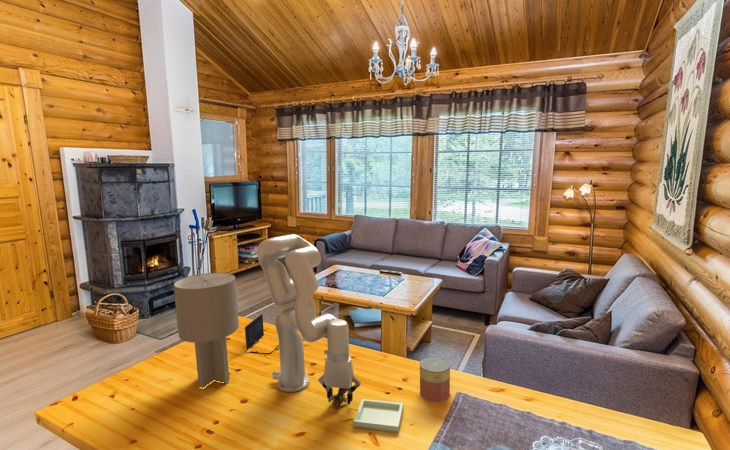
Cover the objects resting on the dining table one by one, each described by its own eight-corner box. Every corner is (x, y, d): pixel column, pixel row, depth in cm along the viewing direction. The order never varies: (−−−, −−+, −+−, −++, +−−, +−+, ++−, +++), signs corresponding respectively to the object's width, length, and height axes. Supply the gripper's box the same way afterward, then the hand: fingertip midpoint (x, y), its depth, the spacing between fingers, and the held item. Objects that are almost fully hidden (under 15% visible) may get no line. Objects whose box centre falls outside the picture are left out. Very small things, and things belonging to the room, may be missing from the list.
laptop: (270, 354, 183) (268, 328, 182) (246, 353, 186) (244, 326, 184) (285, 338, 201) (284, 314, 199) (263, 337, 203) (261, 313, 202)
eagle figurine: (353, 406, 139) (355, 387, 148) (341, 393, 137) (343, 375, 146) (336, 415, 141) (339, 396, 149) (324, 402, 139) (327, 384, 148)
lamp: (170, 389, 156) (159, 285, 150) (212, 362, 177) (204, 270, 171) (215, 400, 147) (205, 291, 141) (254, 371, 168) (247, 274, 162)
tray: (353, 427, 130) (353, 421, 130) (362, 404, 142) (362, 398, 142) (398, 432, 127) (398, 426, 126) (403, 408, 139) (403, 403, 139)
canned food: (427, 382, 156) (427, 354, 154) (454, 391, 149) (454, 361, 148) (414, 396, 147) (414, 366, 145) (442, 406, 140) (442, 374, 138)
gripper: (311, 357, 137) (313, 404, 140) (359, 362, 133) (360, 410, 136) (318, 347, 144) (320, 392, 147) (364, 351, 141) (365, 397, 143)
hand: (339, 400), depth 142 cm, fingers closed on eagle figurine, 6 cm apart
